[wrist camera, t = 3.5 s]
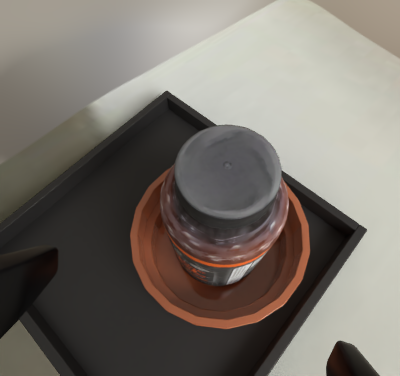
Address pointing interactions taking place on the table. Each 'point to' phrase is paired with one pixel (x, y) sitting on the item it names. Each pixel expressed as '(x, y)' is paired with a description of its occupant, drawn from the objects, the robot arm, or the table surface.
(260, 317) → the bowl
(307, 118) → the table surface
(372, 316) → the table surface
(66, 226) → the tray
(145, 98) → the table surface
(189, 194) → the supplement bottle
